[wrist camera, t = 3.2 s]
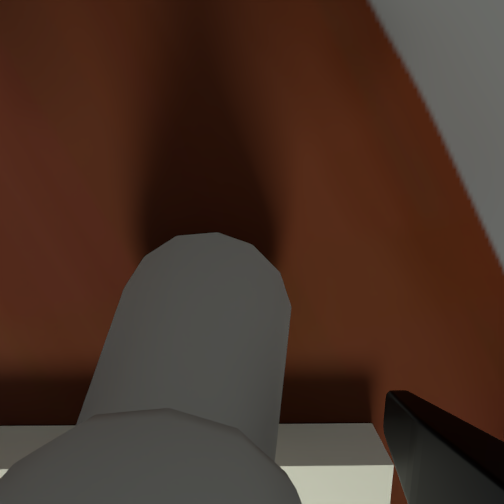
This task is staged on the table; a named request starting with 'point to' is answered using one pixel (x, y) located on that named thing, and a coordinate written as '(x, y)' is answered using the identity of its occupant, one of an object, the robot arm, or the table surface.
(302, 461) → the socket board
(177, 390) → the salt shaker
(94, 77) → the table surface
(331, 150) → the table surface
